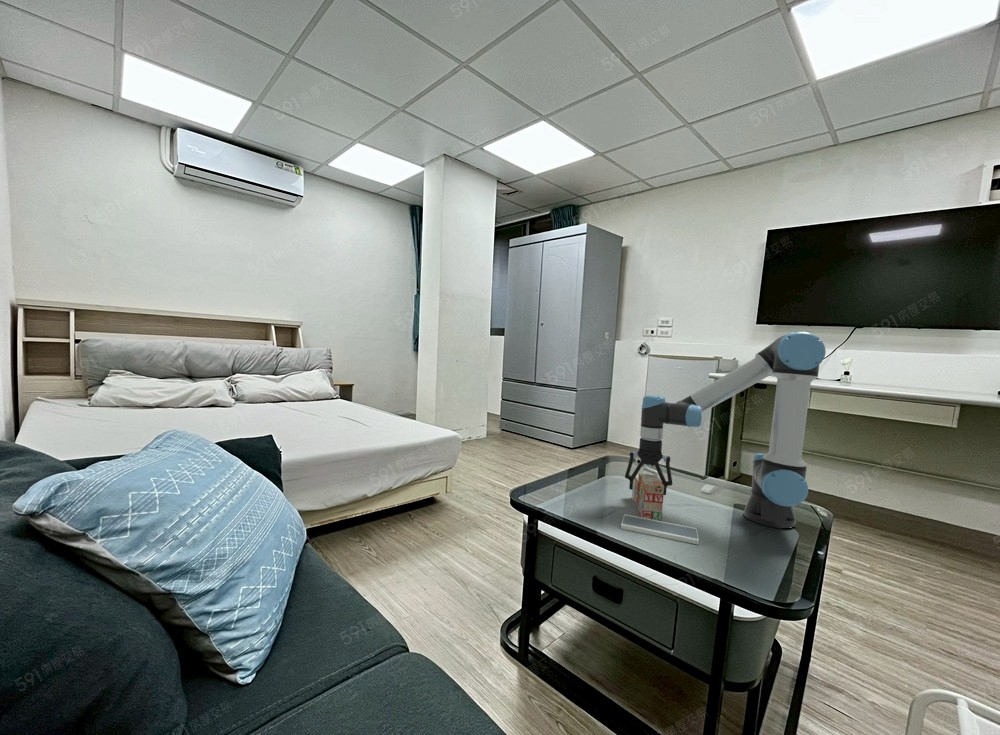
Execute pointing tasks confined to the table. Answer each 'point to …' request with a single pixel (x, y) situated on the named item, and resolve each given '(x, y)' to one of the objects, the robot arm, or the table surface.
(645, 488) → the stack of blocks
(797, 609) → the table surface
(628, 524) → the board
